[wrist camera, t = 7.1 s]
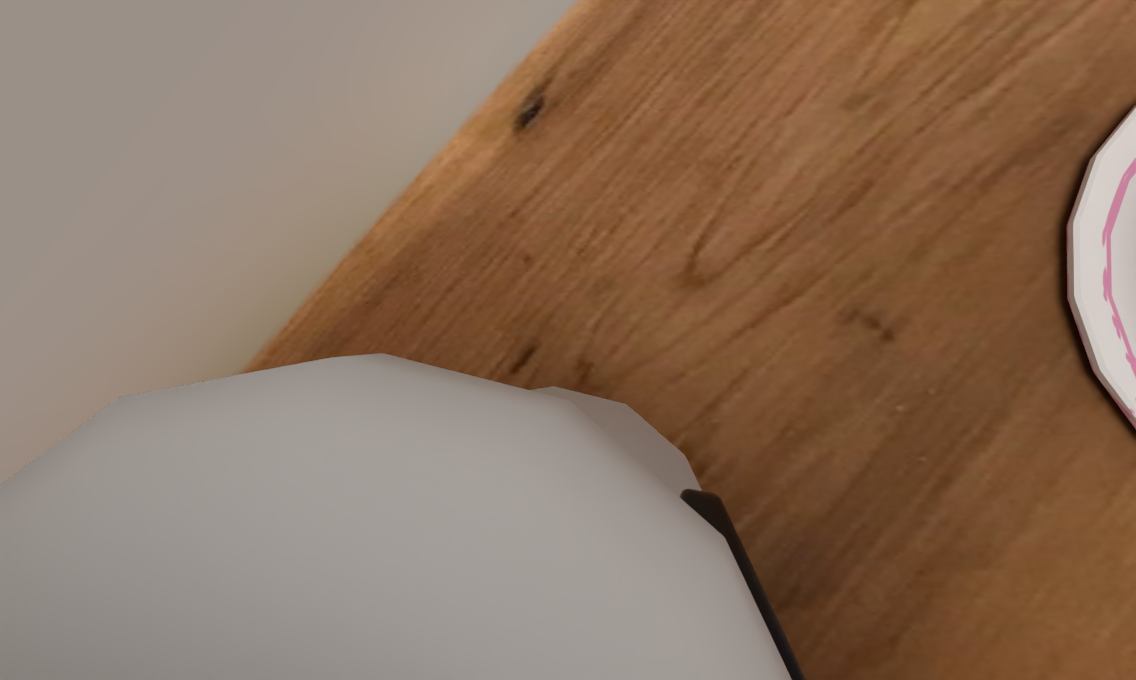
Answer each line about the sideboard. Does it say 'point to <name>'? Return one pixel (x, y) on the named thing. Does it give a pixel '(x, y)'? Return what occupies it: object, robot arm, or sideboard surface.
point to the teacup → (1107, 264)
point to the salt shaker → (368, 538)
